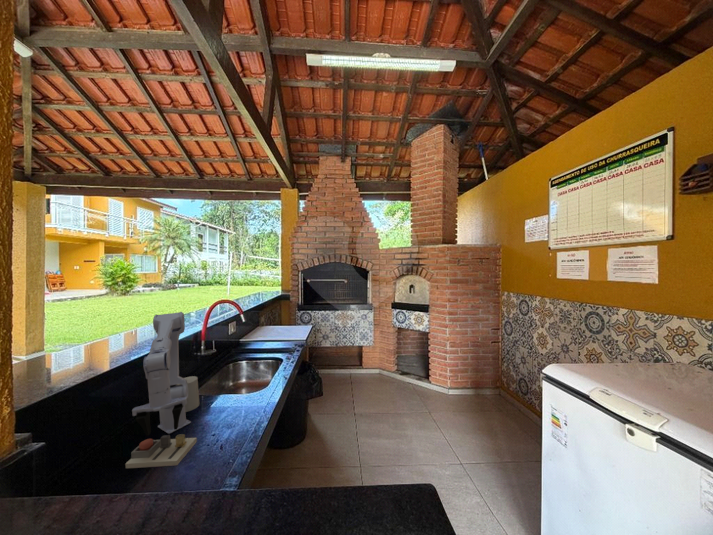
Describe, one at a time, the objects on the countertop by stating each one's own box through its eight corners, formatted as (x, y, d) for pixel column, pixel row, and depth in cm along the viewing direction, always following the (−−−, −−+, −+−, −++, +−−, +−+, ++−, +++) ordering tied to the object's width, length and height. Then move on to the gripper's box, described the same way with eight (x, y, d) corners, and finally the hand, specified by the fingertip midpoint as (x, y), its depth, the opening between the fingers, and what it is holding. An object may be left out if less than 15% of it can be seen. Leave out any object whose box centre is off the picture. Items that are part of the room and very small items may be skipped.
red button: (136, 452, 89) (136, 446, 89) (145, 445, 93) (144, 438, 93) (148, 452, 89) (147, 445, 89) (156, 444, 93) (155, 438, 93)
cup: (184, 402, 125) (182, 377, 125) (202, 401, 126) (200, 375, 125) (173, 413, 117) (171, 385, 116) (193, 411, 118) (191, 383, 117)
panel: (125, 468, 86) (124, 457, 86) (151, 444, 97) (150, 434, 97) (177, 465, 86) (176, 454, 86) (196, 441, 97) (196, 432, 97)
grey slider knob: (160, 448, 92) (159, 438, 92) (163, 444, 94) (163, 434, 94) (168, 447, 92) (167, 437, 92) (172, 443, 94) (171, 434, 94)
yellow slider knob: (175, 447, 92) (174, 437, 92) (178, 443, 94) (177, 434, 94) (183, 446, 92) (182, 437, 92) (186, 442, 94) (185, 433, 94)
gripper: (126, 400, 83) (130, 445, 83) (182, 389, 88) (185, 431, 88) (135, 391, 89) (139, 432, 90) (187, 381, 95) (190, 420, 95)
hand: (162, 431), depth 89 cm, fingers open, 7 cm apart
